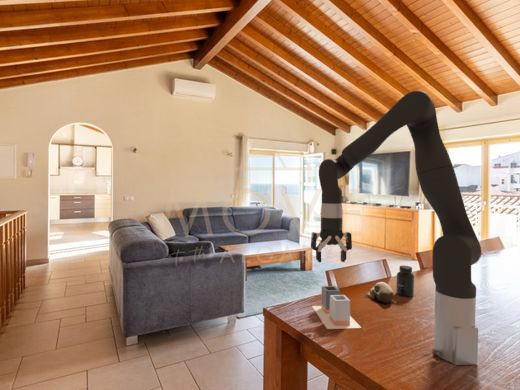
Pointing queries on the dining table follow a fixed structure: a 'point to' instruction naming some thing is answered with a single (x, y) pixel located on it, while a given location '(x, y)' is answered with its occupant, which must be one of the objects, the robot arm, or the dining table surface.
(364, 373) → the dining table surface
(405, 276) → the supplement bottle
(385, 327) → the dining table surface
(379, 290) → the skull
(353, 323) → the pin board
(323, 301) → the charcoal sleeve
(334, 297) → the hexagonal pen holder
